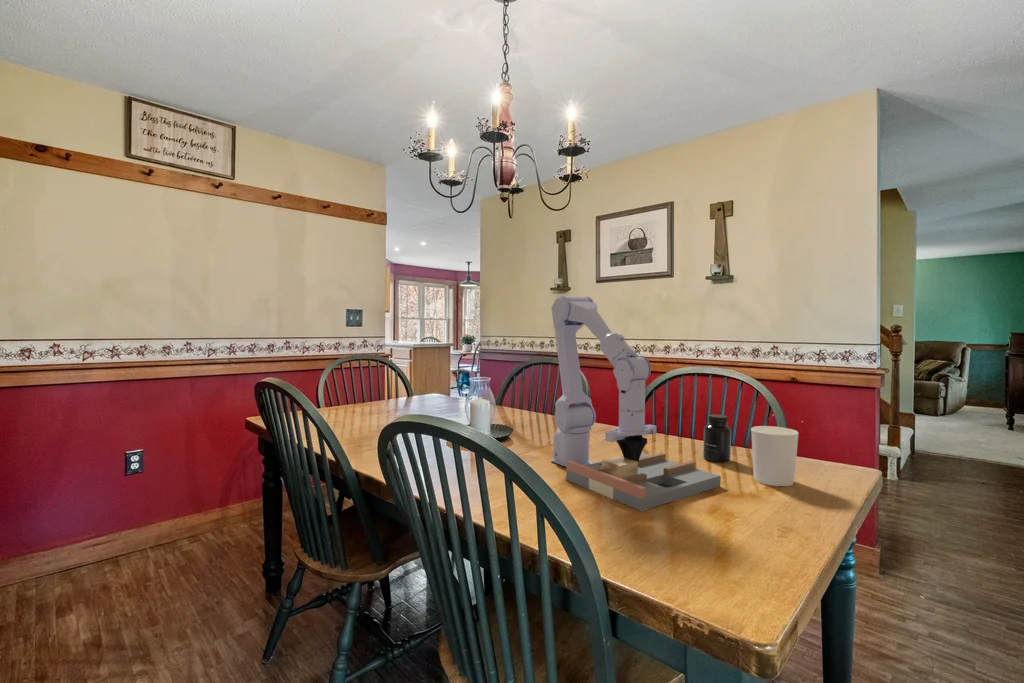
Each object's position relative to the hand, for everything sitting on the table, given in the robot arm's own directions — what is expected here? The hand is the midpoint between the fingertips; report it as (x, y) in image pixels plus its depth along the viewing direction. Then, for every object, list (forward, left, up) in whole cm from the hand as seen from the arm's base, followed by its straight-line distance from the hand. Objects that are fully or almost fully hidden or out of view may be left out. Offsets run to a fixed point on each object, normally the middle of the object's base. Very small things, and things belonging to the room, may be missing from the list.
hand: (631, 468), depth 110 cm
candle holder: (+16, +30, -4) cm, 35 cm away
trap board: (0, +3, -4) cm, 5 cm away
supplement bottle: (-2, +35, -4) cm, 36 cm away
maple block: (0, -4, -1) cm, 4 cm away
